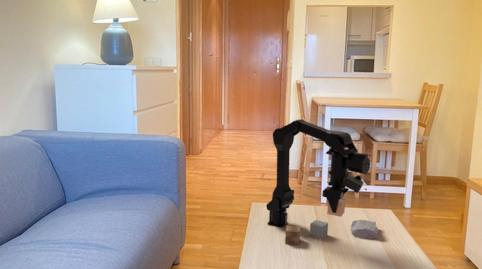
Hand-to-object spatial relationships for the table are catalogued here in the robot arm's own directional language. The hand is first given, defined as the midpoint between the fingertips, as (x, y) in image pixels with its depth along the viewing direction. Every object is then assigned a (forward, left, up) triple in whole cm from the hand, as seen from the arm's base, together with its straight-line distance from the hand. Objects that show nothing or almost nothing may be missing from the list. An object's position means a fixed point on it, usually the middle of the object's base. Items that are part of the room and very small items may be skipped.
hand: (335, 210), depth 147 cm
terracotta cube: (0, 0, -1) cm, 1 cm away
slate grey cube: (-7, +5, -13) cm, 16 cm away
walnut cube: (-14, -5, -13) cm, 20 cm away
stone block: (+8, +17, -14) cm, 23 cm away
